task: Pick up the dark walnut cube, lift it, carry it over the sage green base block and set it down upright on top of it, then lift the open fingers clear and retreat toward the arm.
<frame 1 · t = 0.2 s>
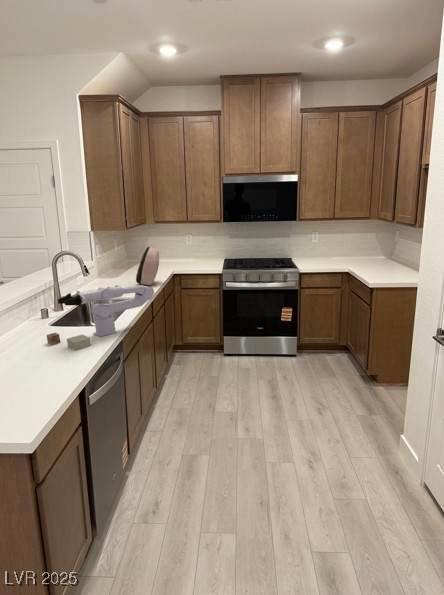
hand: (61, 302, 198), 21 cm above the worktop, tool horizontal, fingers open, 7 cm apart
pink rounded shell: (149, 284, 327), on the worktop
walnut cube: (54, 343, 206), on the worktop
sage base block: (79, 346, 200), on the worktop
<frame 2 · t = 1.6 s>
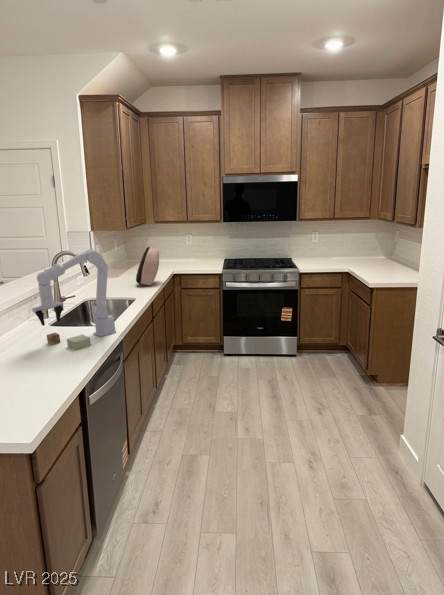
hand: (50, 323, 203), 10 cm above the worktop, tool pointing down, fingers open, 7 cm apart
nothing on the worktop moved.
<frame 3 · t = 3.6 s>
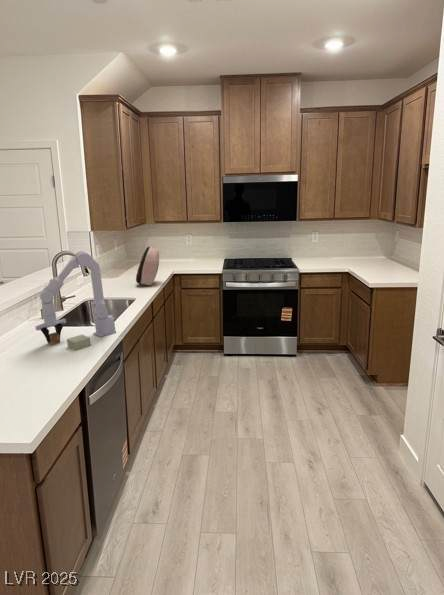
hand: (53, 340, 206), 1 cm above the worktop, tool pointing down, fingers closed on walnut cube, 4 cm apart
walnut cube: (54, 342, 206), on the worktop, touching gripper
everything else where it was.
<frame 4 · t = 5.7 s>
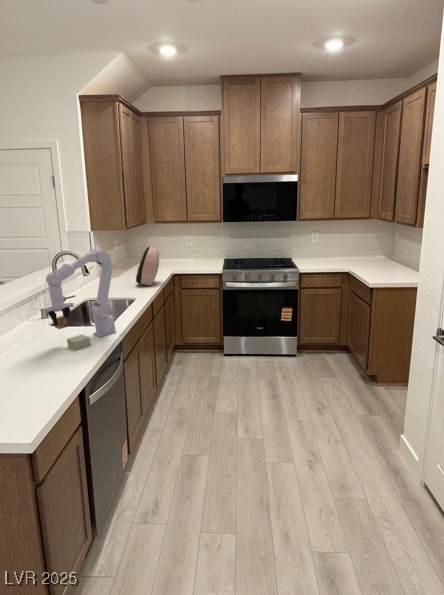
hand: (61, 324, 201), 10 cm above the worktop, tool pointing down, fingers closed on walnut cube, 4 cm apart
walnut cube: (61, 327, 201), point 9 cm above the worktop, touching gripper
everything else where it was.
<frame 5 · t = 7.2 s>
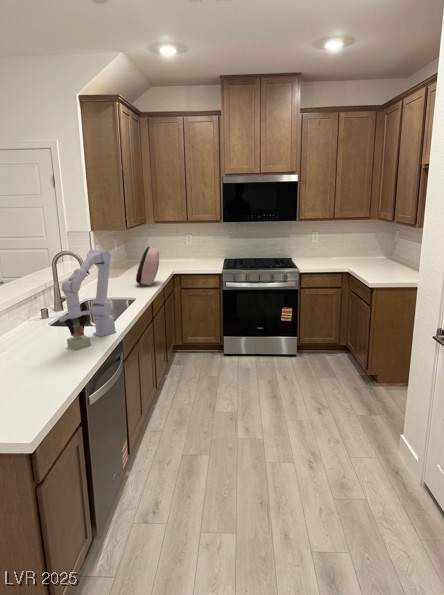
hand: (77, 332, 198), 7 cm above the worktop, tool pointing down, fingers closed on walnut cube, 4 cm apart
walnut cube: (77, 335, 198), point 6 cm above the worktop, touching gripper
everything else where it was.
when the fingers open (6 cm above the worktop, at t = 8.3 s): walnut cube stays where it is, resting on sage base block.
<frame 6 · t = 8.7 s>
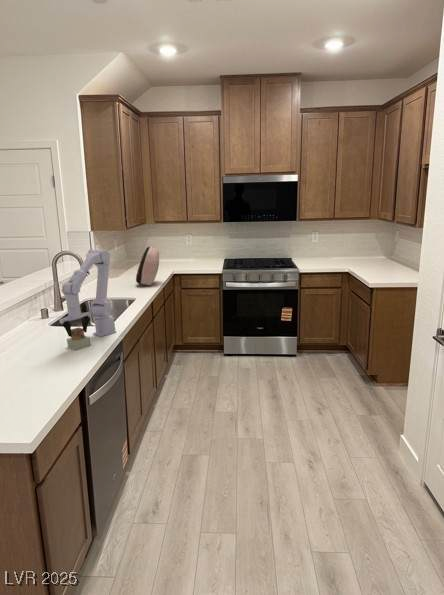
hand: (77, 334, 198), 6 cm above the worktop, tool pointing down, fingers open, 7 cm apart
walnut cube: (78, 338, 199), point 4 cm above the worktop, touching sage base block
everything else where it was.
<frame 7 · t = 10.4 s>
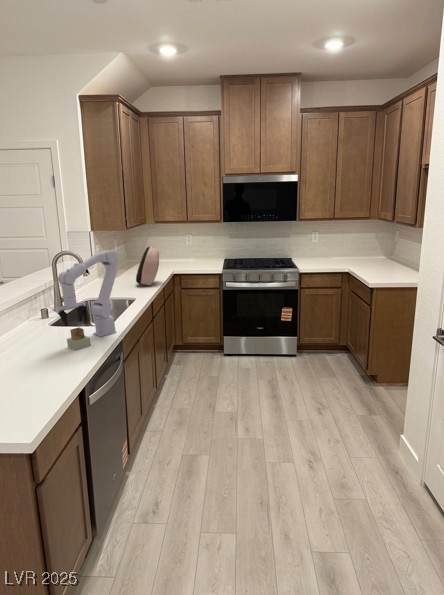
hand: (73, 323, 201), 10 cm above the worktop, tool pointing down, fingers open, 7 cm apart
nothing on the worktop moved.
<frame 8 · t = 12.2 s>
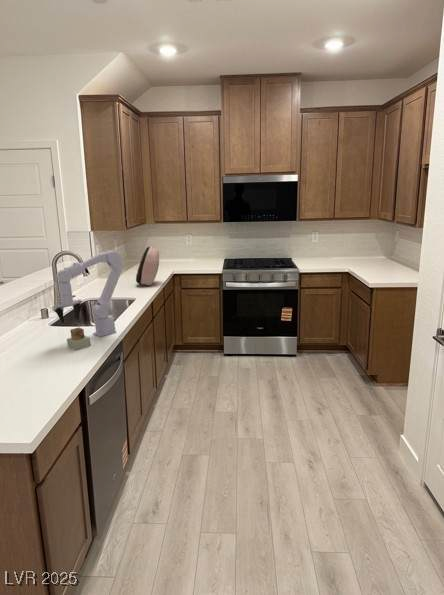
hand: (69, 320, 206), 10 cm above the worktop, tool pointing down, fingers open, 7 cm apart
nothing on the worktop moved.
at the end: walnut cube 0.2 cm from the sage base block (horizontally); walnut cube point 4.0 cm above the worktop; walnut cube tilted 0° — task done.
